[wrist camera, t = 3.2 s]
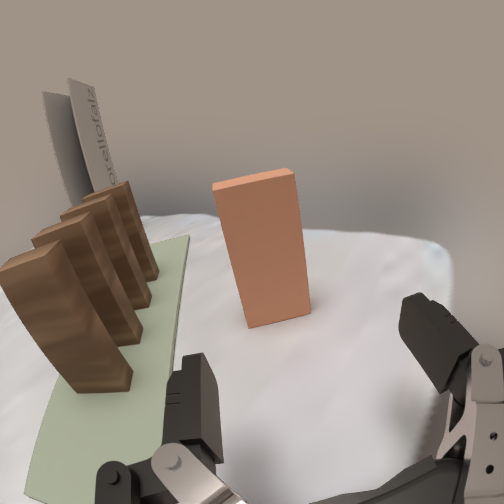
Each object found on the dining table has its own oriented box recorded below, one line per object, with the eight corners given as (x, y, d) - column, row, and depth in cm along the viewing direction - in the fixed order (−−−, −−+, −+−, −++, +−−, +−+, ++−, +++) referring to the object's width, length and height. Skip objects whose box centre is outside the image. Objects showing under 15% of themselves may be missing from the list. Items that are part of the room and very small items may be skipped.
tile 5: (156, 280, 30) (122, 185, 25) (118, 288, 30) (81, 199, 25) (159, 271, 32) (128, 180, 27) (122, 279, 32) (88, 194, 27)
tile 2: (129, 391, 17) (44, 255, 12) (77, 393, 17) (-6, 273, 11) (133, 371, 18) (60, 239, 13) (83, 375, 18) (10, 258, 13)
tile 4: (148, 307, 26) (105, 199, 20) (106, 315, 25) (59, 215, 20) (152, 295, 27) (112, 193, 22) (111, 304, 27) (69, 208, 22)
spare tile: (310, 313, 22) (294, 173, 17) (248, 328, 22) (212, 190, 17) (303, 298, 24) (286, 167, 18) (245, 312, 23) (212, 183, 18)
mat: (167, 529, 8) (163, 528, 8) (28, 496, 8) (23, 493, 8) (189, 237, 40) (188, 234, 40) (122, 254, 40) (120, 252, 40)
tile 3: (139, 343, 21) (80, 220, 16) (92, 350, 21) (31, 239, 16) (143, 328, 23) (91, 211, 18) (98, 335, 23) (43, 229, 18)
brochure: (115, 245, 44) (68, 77, 30) (89, 253, 44) (40, 92, 30) (130, 218, 57) (94, 87, 43) (108, 226, 56) (71, 97, 42)
